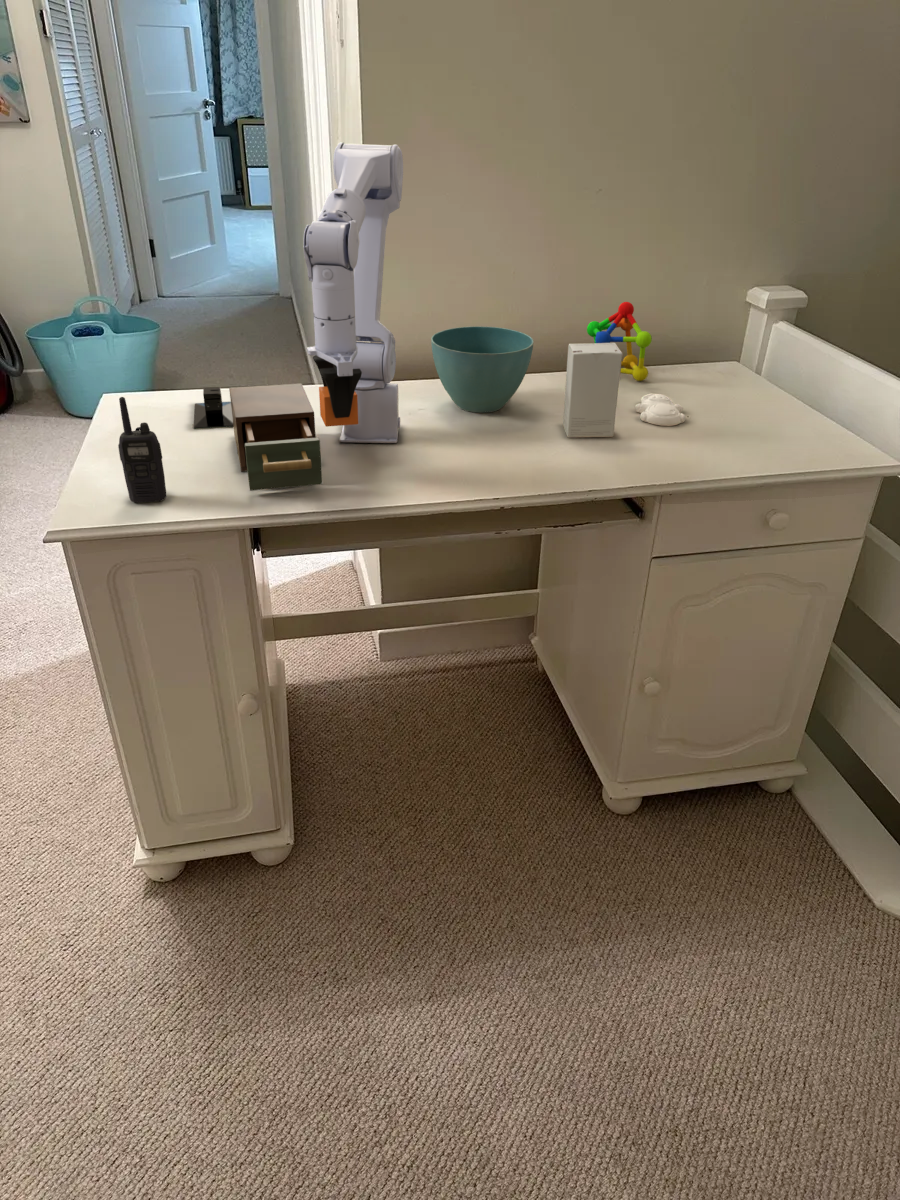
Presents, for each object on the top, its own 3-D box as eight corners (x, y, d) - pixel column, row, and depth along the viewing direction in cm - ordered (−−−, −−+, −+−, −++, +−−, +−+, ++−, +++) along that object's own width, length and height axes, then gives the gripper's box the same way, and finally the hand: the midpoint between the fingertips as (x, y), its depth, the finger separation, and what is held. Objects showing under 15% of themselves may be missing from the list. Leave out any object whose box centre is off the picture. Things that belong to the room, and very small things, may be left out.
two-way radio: (126, 505, 120) (106, 400, 112) (131, 492, 124) (112, 390, 116) (167, 503, 121) (150, 399, 113) (170, 490, 125) (154, 388, 117)
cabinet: (317, 465, 134) (314, 411, 129) (241, 471, 131) (235, 417, 127) (305, 433, 145) (301, 383, 141) (234, 438, 143) (229, 387, 138)
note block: (358, 424, 125) (357, 394, 123) (325, 426, 124) (324, 397, 122) (352, 413, 129) (351, 384, 127) (320, 415, 128) (318, 386, 126)
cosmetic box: (607, 426, 152) (617, 341, 144) (613, 439, 147) (625, 351, 139) (559, 426, 151) (568, 340, 144) (564, 438, 146) (573, 351, 138)
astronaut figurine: (680, 405, 162) (683, 389, 161) (686, 427, 152) (688, 411, 151) (633, 402, 163) (635, 386, 162) (635, 424, 153) (638, 407, 152)
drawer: (327, 498, 122) (325, 452, 118) (252, 505, 119) (248, 459, 116) (309, 451, 136) (307, 409, 133) (242, 456, 134) (238, 414, 130)
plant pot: (473, 429, 149) (476, 359, 142) (410, 401, 161) (410, 334, 154) (548, 409, 159) (554, 342, 152) (484, 384, 170) (487, 321, 164)
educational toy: (573, 372, 182) (578, 298, 175) (628, 369, 185) (635, 296, 178) (604, 388, 168) (610, 308, 162) (663, 384, 172) (672, 306, 165)
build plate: (236, 427, 147) (233, 401, 145) (192, 430, 146) (188, 403, 143) (234, 403, 157) (231, 378, 155) (193, 405, 156) (189, 380, 153)
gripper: (298, 304, 124) (304, 396, 131) (313, 330, 112) (319, 429, 119) (346, 302, 125) (350, 393, 133) (366, 327, 114) (369, 426, 121)
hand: (338, 410), depth 126 cm, fingers closed on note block, 5 cm apart
